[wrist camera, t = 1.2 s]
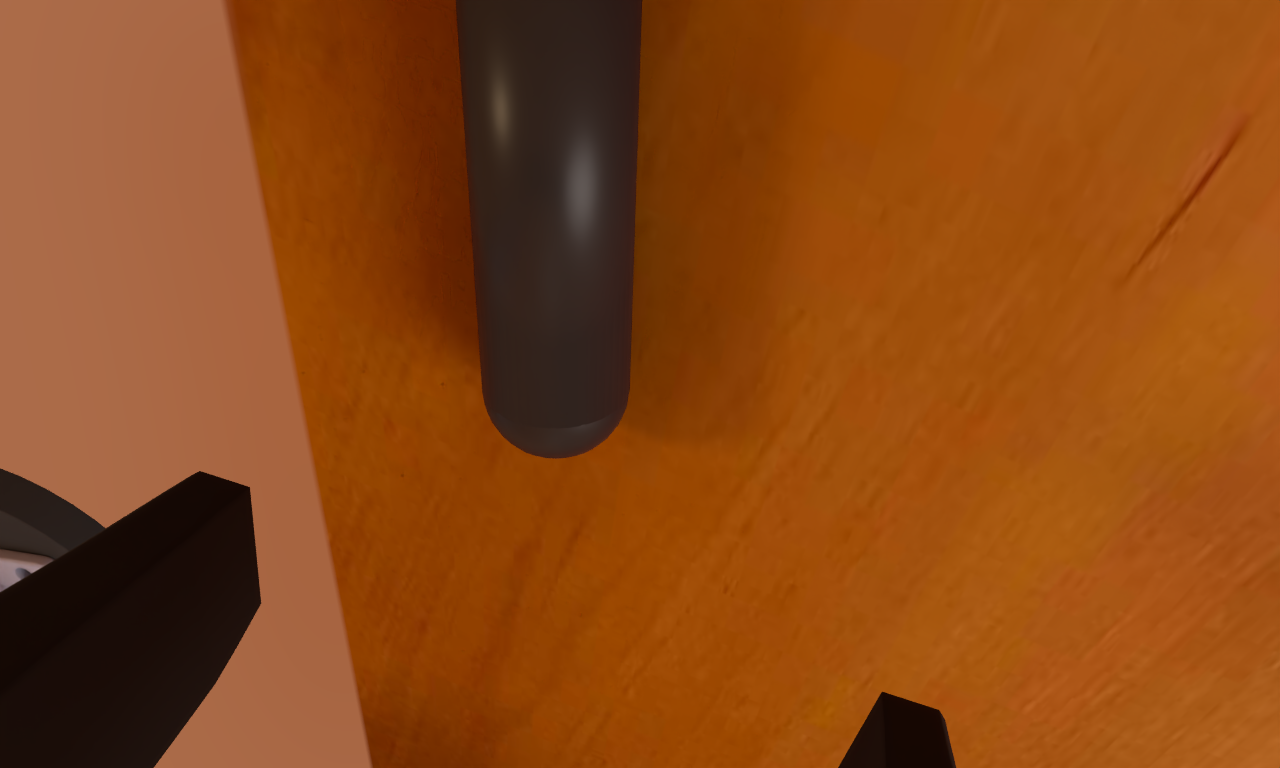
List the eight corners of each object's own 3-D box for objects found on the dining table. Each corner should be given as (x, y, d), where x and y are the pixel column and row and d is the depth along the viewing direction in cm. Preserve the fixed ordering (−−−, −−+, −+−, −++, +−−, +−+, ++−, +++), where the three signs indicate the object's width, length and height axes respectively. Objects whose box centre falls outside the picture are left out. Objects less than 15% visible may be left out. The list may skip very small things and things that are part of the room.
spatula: (683, 418, 22) (662, 504, 19) (466, 390, 23) (419, 471, 20) (767, -790, 12) (747, -926, 9) (373, -779, 13) (258, -904, 10)
